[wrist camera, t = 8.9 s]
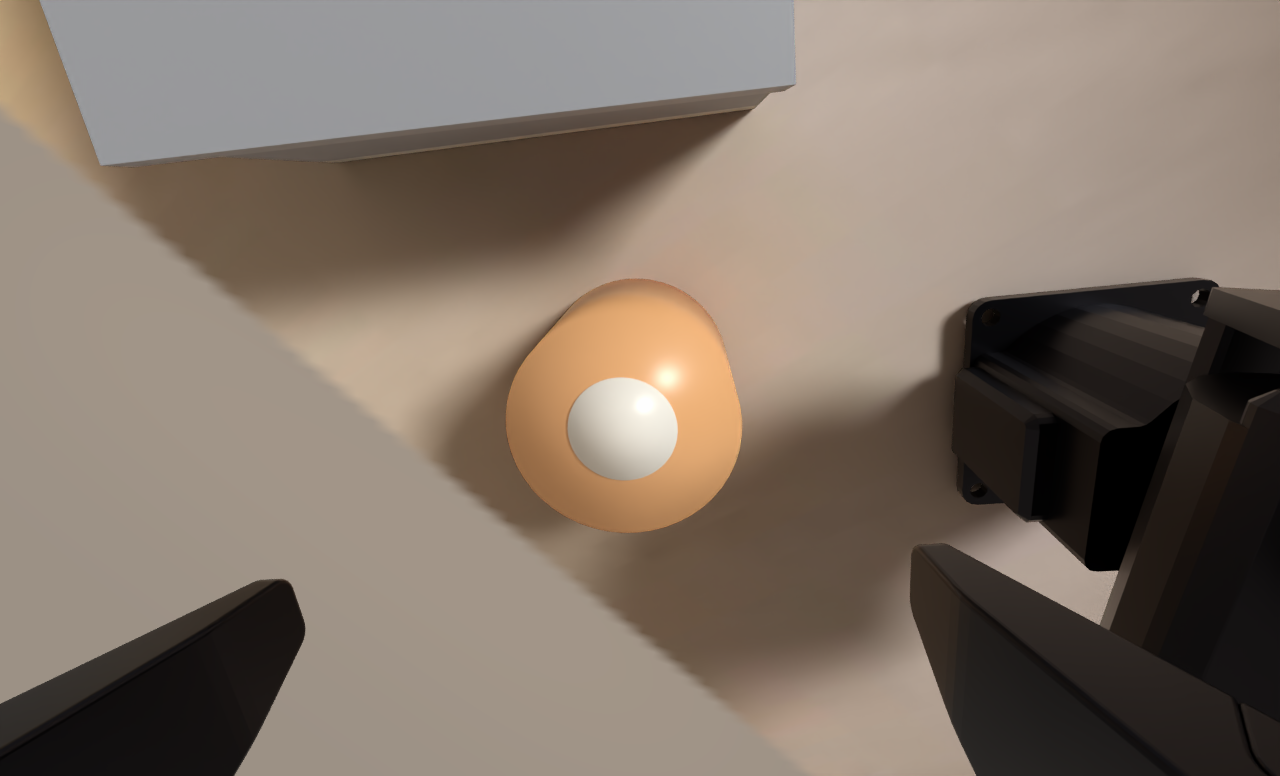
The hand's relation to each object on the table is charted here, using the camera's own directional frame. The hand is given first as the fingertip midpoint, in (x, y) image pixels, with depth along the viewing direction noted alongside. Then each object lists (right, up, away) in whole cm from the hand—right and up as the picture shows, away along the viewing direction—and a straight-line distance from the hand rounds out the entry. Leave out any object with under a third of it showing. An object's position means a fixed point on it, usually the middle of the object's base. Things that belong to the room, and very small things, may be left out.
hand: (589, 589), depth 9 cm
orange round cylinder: (+1, +3, +10) cm, 11 cm away
